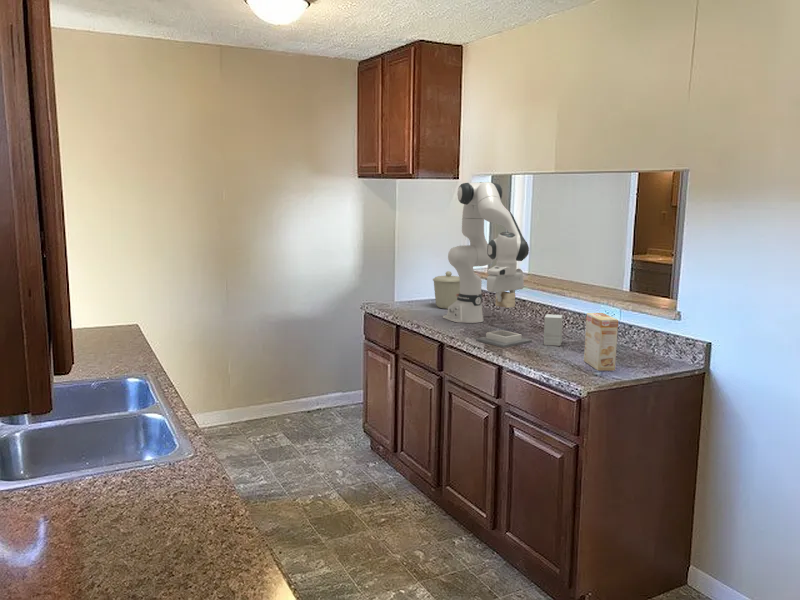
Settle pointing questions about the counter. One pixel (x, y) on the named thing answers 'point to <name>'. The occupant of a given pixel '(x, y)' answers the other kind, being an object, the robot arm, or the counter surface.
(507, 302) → the tan cardboard carton
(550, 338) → the supplement box
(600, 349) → the coffeecake box
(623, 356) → the counter surface
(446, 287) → the canister
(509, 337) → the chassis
